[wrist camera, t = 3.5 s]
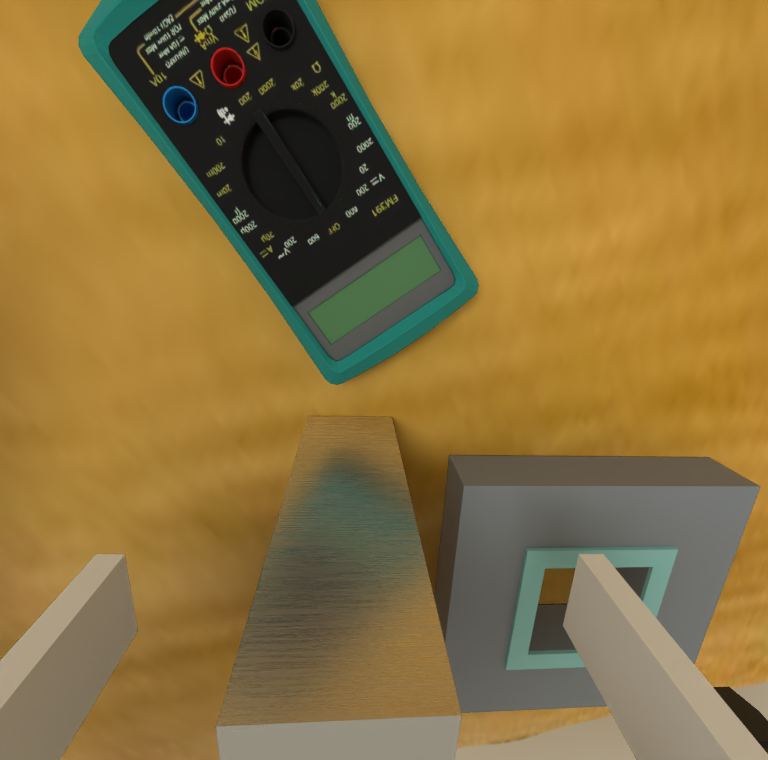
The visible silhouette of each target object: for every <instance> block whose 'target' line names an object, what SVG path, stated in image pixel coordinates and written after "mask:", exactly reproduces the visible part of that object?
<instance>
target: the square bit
mask: <svg viewBox="0 0 768 760" xmlns="http://www.w3.org/2000/svg"><path fill="white" fill-rule="evenodd" d="M460 722H461V711H460V707H459V702H458V698H457V694H456V690H455V685H454V681H453V677H452V672H451V668H450V664H449V660H448V655H447V651H446V647H445V642H444V638H443V634H442V630H441V625H440V621H439V617H438V612H437V608H436V604H435V600H434V595H433V591H432V587H431V582H430V578H429V574H428V570H427V565H426V561H425V557H424V552H423V548H422V544H421V540H420V535H419V531H418V527H417V522H416V518H415V514H414V510H413V505H412V501H411V497H410V492H409V488H408V484H407V480H406V475H405V471H404V467H403V463H402V458H401V454H400V450H399V445H398V441H397V437H396V433H395V428H394V424H393V420H392V417H355V416H308V417H307V420H306V424H305V427H304V430H303V434H302V437H301V440H300V444H299V447H298V451H297V454H296V457H295V461H294V464H293V468H292V471H291V474H290V478H289V481H288V484H287V488H286V491H285V495H284V498H283V501H282V505H281V508H280V512H279V515H278V518H277V522H276V525H275V528H274V532H273V535H272V539H271V542H270V545H269V549H268V552H267V556H266V559H265V562H264V566H263V569H262V572H261V576H260V579H259V583H258V586H257V589H256V593H255V596H254V600H253V603H252V606H251V610H250V613H249V616H248V620H247V623H246V627H245V630H244V633H243V637H242V640H241V644H240V647H239V650H238V654H237V657H236V660H235V664H234V667H233V671H232V674H231V677H230V681H229V684H228V688H227V691H226V694H225V698H224V701H223V704H222V708H221V711H220V715H219V718H218V721H217V725H216V732H217V741H218V749H219V758H220V760H455V755H456V749H457V742H458V735H459V729H460Z"/></svg>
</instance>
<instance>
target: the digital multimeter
mask: <svg viewBox="0 0 768 760" xmlns="http://www.w3.org/2000/svg"><path fill="white" fill-rule="evenodd" d="M297 1H298V2H297ZM300 6H301V7H300ZM301 8H302V9H301ZM304 13H305V14H304ZM305 15H306V16H305ZM308 20H309V21H308ZM312 27H313V28H312ZM316 34H317V35H316ZM320 41H321V42H320ZM79 47H80V49H81V52H82V54H83V56H84V57H85V58H86V59H87V61H88V62H89V63H90V64H91V66H92V67H93V68H94V69H95V70H96V72H97V73H98V74H99V75H100V77H101V78H102V79H103V80H104V82H105V83H106V84H107V85H108V87H109V88H110V89H111V90H112V91H113V93H114V94H115V95H116V96H117V98H118V99H119V100H120V101H121V103H122V104H123V105H124V106H125V107H126V109H127V110H128V111H129V112H130V114H131V115H132V116H133V117H134V119H135V120H136V121H137V122H138V123H139V125H140V126H141V127H142V128H143V130H144V131H145V132H146V133H147V135H148V136H149V137H150V138H151V140H152V141H153V142H154V144H155V145H156V146H157V147H158V149H159V150H160V151H161V153H162V154H163V155H164V156H165V158H166V159H167V160H168V162H169V163H170V164H171V165H172V167H173V168H174V169H175V170H176V172H177V173H178V174H179V176H180V177H181V178H182V179H183V181H184V182H185V183H186V185H187V186H188V187H189V188H190V190H191V191H192V192H193V194H194V195H195V196H196V197H197V199H198V200H199V201H200V203H201V204H202V205H203V206H204V208H205V209H206V210H207V211H208V213H209V214H210V215H211V217H212V218H213V219H214V221H215V222H216V223H217V225H218V226H219V227H220V229H221V230H222V232H223V233H224V234H225V236H226V237H227V239H228V240H229V241H230V243H231V244H232V245H233V247H234V248H235V250H236V251H237V252H238V254H239V255H240V256H241V258H242V259H243V261H244V262H245V263H246V265H247V266H248V268H249V269H250V270H251V272H252V273H253V274H254V276H255V277H256V279H257V280H258V281H259V283H260V284H261V285H262V287H263V288H264V290H265V291H266V292H267V294H268V295H269V297H270V298H271V300H272V301H273V302H274V304H275V305H276V307H277V308H278V310H279V311H280V313H281V314H282V316H283V317H284V319H285V320H286V322H287V323H288V325H289V326H290V328H291V329H292V331H293V332H294V333H295V335H296V336H297V338H298V339H299V341H300V342H301V344H302V345H303V347H304V348H305V350H306V351H307V353H308V354H309V356H310V357H311V359H312V360H313V362H314V363H315V364H316V366H317V367H318V369H319V370H320V372H321V373H322V375H323V376H324V378H325V379H326V380H327V381H328V382H329V383H331V384H336V385H338V384H341V383H344V382H345V381H347V380H349V379H351V378H353V377H355V376H357V375H358V374H360V373H362V372H364V371H366V370H368V369H370V368H371V367H373V366H375V365H376V364H378V363H380V362H382V361H383V360H385V359H387V358H389V357H390V356H392V355H394V354H395V353H397V352H399V351H400V350H402V349H403V348H405V347H406V346H408V345H409V344H411V343H412V342H414V341H415V340H417V339H418V338H420V337H421V336H423V335H424V334H425V333H427V332H428V331H429V330H431V329H432V328H433V327H435V326H436V325H438V324H439V323H440V322H442V321H443V320H444V319H446V318H447V317H448V316H449V315H451V314H452V313H453V312H455V311H456V310H457V309H458V308H460V307H461V306H462V305H463V304H465V303H466V302H467V301H468V300H470V299H471V298H472V297H473V296H474V295H475V294H476V293H477V290H478V286H479V285H478V281H477V278H476V277H475V275H474V273H473V272H472V270H471V269H470V267H469V265H468V264H467V262H466V261H465V259H464V257H463V256H462V254H461V253H460V251H459V250H458V248H457V246H456V245H455V243H454V242H453V240H452V238H451V237H450V235H449V234H448V232H447V230H446V229H445V227H444V226H443V224H442V222H441V221H440V219H439V218H438V216H437V214H436V213H435V211H434V210H433V208H432V206H431V205H430V203H429V202H428V200H427V198H426V197H425V195H424V194H423V192H422V190H421V189H420V187H419V185H418V184H417V182H416V180H415V178H414V177H413V175H412V173H411V172H410V170H409V168H408V166H407V165H406V163H405V161H404V160H403V158H402V156H401V154H400V153H399V151H398V149H397V148H396V146H395V144H394V142H393V141H392V139H391V137H390V136H389V134H388V132H387V130H386V129H385V127H384V125H383V123H382V122H381V120H380V118H379V117H378V115H377V113H376V111H375V110H374V108H373V106H372V105H371V103H370V101H369V99H368V97H367V95H366V93H365V92H364V90H363V88H362V86H361V84H360V82H359V80H358V78H357V77H356V75H355V73H354V71H353V69H352V67H351V65H350V63H349V62H348V60H347V58H346V56H345V54H344V52H343V50H342V48H341V47H340V45H339V43H338V41H337V39H336V37H335V35H334V33H333V32H332V30H331V28H330V26H329V24H328V22H327V20H326V18H325V17H324V15H323V13H322V11H321V9H320V7H319V5H318V3H317V2H316V0H101V2H100V3H99V5H98V6H97V8H96V10H95V11H94V13H93V14H92V16H91V17H90V19H89V20H88V22H87V24H86V25H85V27H84V28H83V30H82V31H81V33H80V35H79ZM324 48H325V49H324ZM123 76H124V77H123ZM126 80H127V81H126ZM131 87H132V88H131ZM134 91H135V92H134ZM142 102H143V103H142ZM299 103H300V104H299ZM145 106H146V107H145ZM266 106H267V107H266ZM153 117H154V118H153ZM249 119H250V120H249ZM330 122H331V123H332V124H331V123H330ZM338 133H339V134H338ZM238 139H239V140H238ZM343 143H344V144H343ZM347 178H348V180H347ZM241 186H242V187H241ZM344 190H345V191H344ZM247 197H248V198H247ZM255 207H256V208H257V209H256V208H255ZM316 221H317V222H316ZM449 287H450V288H449ZM448 288H449V289H448ZM446 289H447V290H446ZM445 290H446V291H445ZM443 291H444V292H443ZM440 293H441V294H440ZM437 295H438V296H437Z"/></svg>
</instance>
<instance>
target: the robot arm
mask: <svg viewBox="0 0 768 760" xmlns="http://www.w3.org/2000/svg"><path fill="white" fill-rule="evenodd" d="M563 627H564V629H565V630H566V632H567V634H568V636H569V638H570V639H571V641H572V643H573V645H574V647H575V649H576V650H577V652H578V654H579V656H580V658H581V659H582V661H583V663H584V665H585V667H586V669H587V670H588V672H589V674H590V676H591V678H592V679H593V681H594V683H595V685H596V687H597V689H598V690H599V692H600V694H601V696H602V698H603V699H604V701H605V703H606V705H607V707H608V709H609V710H610V712H611V714H612V716H613V718H614V719H615V721H616V723H617V725H618V727H619V728H620V730H621V732H622V734H623V736H624V737H625V739H626V741H627V743H628V745H629V747H630V748H631V750H632V752H633V754H634V756H635V758H636V759H637V760H768V721H767V720H766V718H765V717H764V716H763V715H762V714H761V713H760V712H759V711H758V710H757V709H756V708H754V707H753V706H752V705H751V704H750V703H748V702H747V701H746V700H745V699H743V698H742V697H741V696H740V695H738V694H737V693H736V692H735V691H733V690H732V689H731V688H730V687H712V686H711V684H710V683H709V682H708V681H707V679H706V678H705V677H704V676H703V675H702V673H701V672H700V671H699V670H698V669H697V667H696V666H695V665H694V664H693V662H692V661H691V660H690V659H689V658H688V656H687V655H686V654H685V653H684V651H683V650H682V649H681V648H680V647H679V645H678V644H677V643H676V642H675V641H674V639H673V638H672V637H671V636H670V634H669V633H668V632H667V631H666V630H665V628H664V627H663V626H662V625H661V624H660V622H659V621H658V620H657V619H656V617H655V616H654V615H653V614H652V613H651V611H650V610H649V609H648V608H647V606H646V605H645V604H644V603H643V602H642V600H641V599H640V598H639V597H638V596H637V594H636V593H635V592H634V591H633V589H632V588H631V587H630V586H629V585H628V583H627V582H626V581H625V580H624V579H623V577H622V576H621V575H620V574H619V572H618V571H617V570H616V569H615V568H614V566H613V565H612V564H611V563H610V561H609V560H608V559H607V558H606V557H605V555H604V554H579V556H578V561H577V565H576V569H575V574H574V578H573V583H572V587H571V591H570V596H569V600H568V605H567V609H566V614H565V618H564V622H563ZM137 632H138V628H137V622H136V617H135V611H134V605H133V599H132V593H131V588H130V582H129V576H128V570H127V564H126V558H125V554H96V555H95V556H94V557H93V558H92V559H91V561H90V562H89V563H88V564H87V565H86V566H85V567H84V568H83V569H82V570H81V572H80V573H79V574H78V575H77V576H76V577H75V578H74V579H73V580H72V582H71V583H70V584H69V585H68V586H67V587H66V588H65V589H64V590H63V592H62V593H61V594H60V595H59V596H58V597H57V598H56V599H55V600H54V602H53V603H52V604H51V605H50V606H49V607H48V608H47V609H46V610H45V612H44V613H43V614H42V615H41V616H40V617H39V618H38V619H37V620H36V621H35V623H34V624H33V625H32V626H31V627H30V628H29V629H28V630H27V631H26V633H25V634H24V635H23V636H22V637H21V638H20V639H19V640H18V641H17V643H16V644H15V645H14V646H13V647H12V648H11V649H10V650H9V651H8V653H7V654H6V655H5V656H4V657H3V658H2V659H1V660H0V760H60V759H61V758H62V756H63V754H64V753H65V751H66V749H67V748H68V746H69V744H70V743H71V741H72V739H73V738H74V736H75V734H76V733H77V731H78V729H79V728H80V726H81V724H82V723H83V721H84V719H85V718H86V716H87V714H88V713H89V711H90V709H91V708H92V706H93V704H94V703H95V701H96V700H97V698H98V696H99V695H100V693H101V691H102V690H103V688H104V686H105V685H106V683H107V681H108V680H109V678H110V676H111V675H112V673H113V671H114V670H115V668H116V666H117V665H118V663H119V661H120V660H121V658H122V656H123V655H124V653H125V651H126V650H127V648H128V646H129V645H130V643H131V641H132V640H133V638H134V636H135V635H136V633H137Z"/></svg>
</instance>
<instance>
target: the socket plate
mask: <svg viewBox="0 0 768 760" xmlns="http://www.w3.org/2000/svg"><path fill="white" fill-rule="evenodd" d="M759 489H760V486H759V485H757V484H755V483H753V482H752V481H750V480H748V479H746V478H745V477H743V476H741V475H739V474H737V473H736V472H734V471H732V470H730V469H729V468H727V467H725V466H723V465H722V464H720V463H718V462H716V461H714V460H713V459H711V458H709V457H609V456H486V455H449V463H448V473H447V482H446V492H445V501H444V511H443V520H442V530H441V539H440V549H439V558H438V568H437V577H436V587H435V596H434V600H435V604H436V608H437V612H438V617H439V621H440V625H441V630H442V634H443V638H444V642H445V647H446V651H447V655H448V660H449V664H450V668H451V672H452V677H453V681H454V685H455V690H456V694H457V698H458V702H459V707H460V711H461V713H469V712H491V711H513V710H535V709H557V708H579V707H601V706H607V705H606V703H605V701H604V699H603V698H602V696H601V694H600V692H599V690H598V689H597V687H596V685H595V683H594V681H593V679H592V678H591V676H590V674H589V672H588V670H587V669H586V667H585V665H584V663H583V661H582V659H581V658H580V656H579V654H578V652H577V650H576V649H575V647H574V645H573V643H572V641H571V639H570V638H569V636H568V634H567V632H566V630H565V629H564V627H563V622H564V618H565V614H566V609H567V605H568V604H550V605H538V601H539V596H540V592H541V587H542V582H543V577H544V572H545V569H554V568H576V565H577V561H578V556H579V554H604V555H605V557H606V558H607V559H608V560H609V561H610V563H611V564H612V565H613V566H614V568H615V569H616V570H617V571H618V572H619V574H620V575H621V576H622V577H623V579H624V580H625V581H626V582H627V583H628V585H629V586H630V587H631V588H632V589H633V591H634V592H635V593H636V594H637V596H638V597H639V598H640V599H641V600H642V602H643V603H644V604H645V605H646V606H647V608H648V609H649V610H650V611H651V613H652V614H653V615H654V616H655V617H656V619H657V620H658V621H659V622H660V624H661V625H662V626H663V627H664V628H665V630H666V631H667V632H668V633H669V634H670V636H671V637H672V638H673V639H674V641H675V642H676V643H677V644H678V645H679V647H680V648H681V649H682V650H683V651H684V653H685V654H686V655H687V656H688V658H689V659H690V660H691V661H692V662H693V664H695V661H696V659H697V656H698V653H699V651H700V648H701V645H702V642H703V640H704V637H705V634H706V632H707V629H708V626H709V624H710V621H711V618H712V616H713V613H714V610H715V608H716V605H717V602H718V599H719V597H720V594H721V591H722V589H723V586H724V583H725V581H726V578H727V575H728V573H729V570H730V567H731V564H732V562H733V559H734V556H735V554H736V551H737V548H738V546H739V543H740V540H741V538H742V535H743V532H744V529H745V527H746V524H747V521H748V519H749V516H750V513H751V511H752V508H753V505H754V503H755V500H756V497H757V494H758V492H759Z"/></svg>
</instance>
